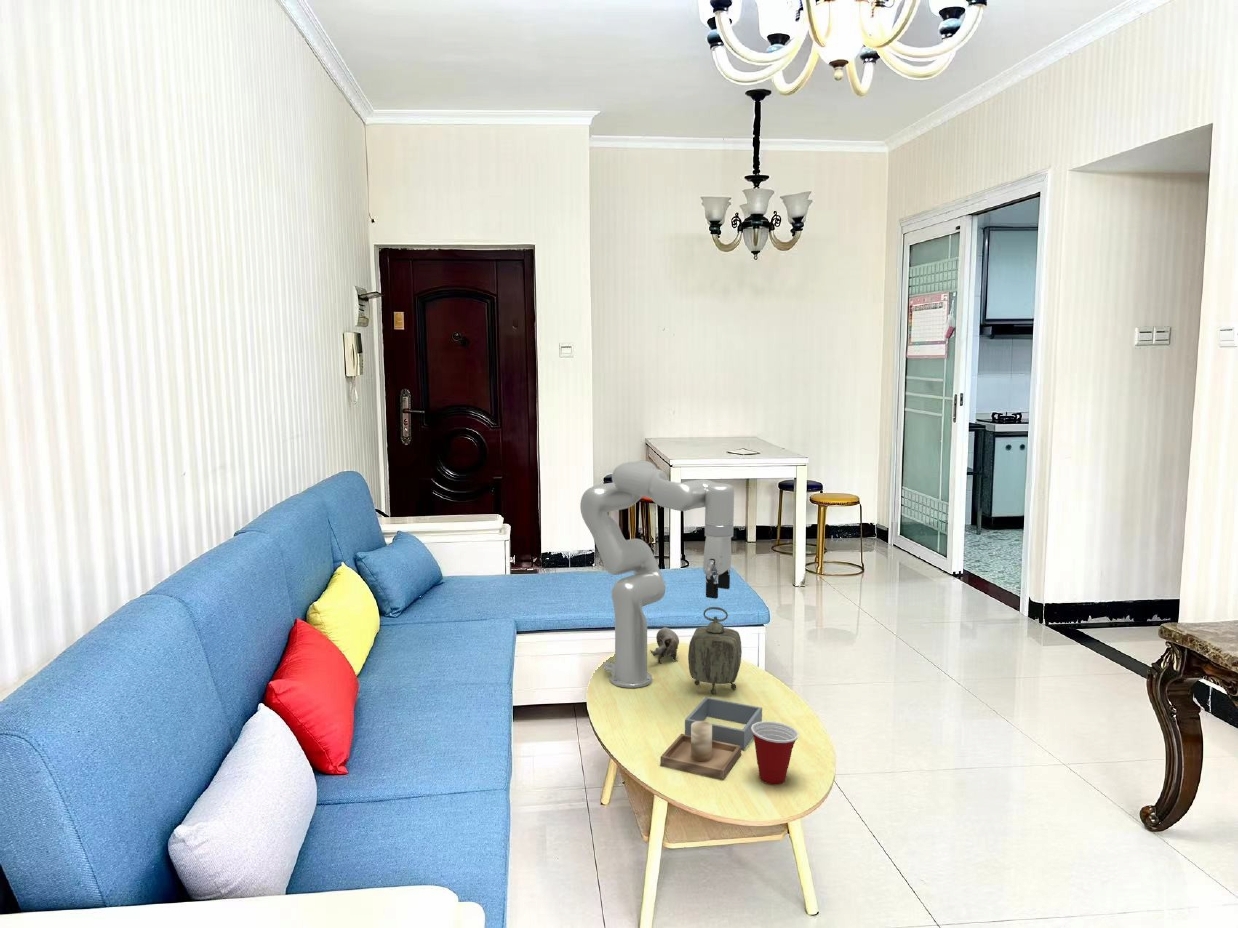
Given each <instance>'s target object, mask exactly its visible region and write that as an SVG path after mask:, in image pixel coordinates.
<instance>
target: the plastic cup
mask: <svg viewBox="0 0 1238 928" xmlns="http://www.w3.org/2000/svg"><path fill="white" fill-rule="evenodd" d="M751 730H752V732H753V741H754V749H755V756H756V762H757V768H758V774H759V778H760V781H762V782H763V783H765V784H768V785H773V786H775V785H781V784H783V783H785V782H786V779H787V774H788V769H789V766H790V762H791V757H792V751H793V748H794V745H795V742H796V741H797V739H798V738H799V735H800V733H799V732H798V730H797V729H795V728H794V727H793V726H790V725H788V724H785V723H783V722H779V721H778V722H777V721H772V720H769V721H768V720H762V722H757V723H755V724H753V725H752V727H751Z"/></svg>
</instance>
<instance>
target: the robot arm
mask: <svg viewBox="0 0 1238 928" xmlns="http://www.w3.org/2000/svg"><path fill="white" fill-rule="evenodd" d="M611 481H612V482H608V483H602V484H601V483H600V484H596V485H593V486H591V487H589V488H587V489H586V490H585V491H584V492H583V494H582V496H581V498H580V507H579V508H580V514H581V517H582V519H583V522H584V523H585V525H586V527H587V529H588V530H589V533H590V534H591V535H592V538H593V541H594V543H595V546H596V549H597V550H598V552H599V556H600V558H601V561H602V562H603V565H604V567H605V569H606V571H607V572H608V574H611V575H613V576H617V575H623V574H627V573H632V572H633V575H629V576H626V577H623V578H621V579H619V580H617V581H616V582H615V583H614V585H613V587H612V589H611V599H612V605H613V613H614V662H611V661H604V662H603V671H604V672H605V671H606V672H611V674H609V681H610V683H611V684H613V685H614V686H616V687H620V688H627V689H635V688H643V687H646V686H648V685H650V684H651V683H652V681H653V676H652V674H651V673H650V672H649V671H648V620H647V618H646V615H645V613H644V611H643V607H645V606H647V605H651V604H654V603H656V602H659V601H660V600H662V599H663V598H664V596H665V594H666V583H665V580H664V576H663V575H662V572H661V569H660V567H659V565H658V562H657V560H656V558H655V555H654V553H653V551H652V549H651V547H650V546H649V545H648V544H647V542H646V541H644V540H642V539H640V538H630V539H626V538H625V537H624V534H623V533H622V530H621V527H620V526H619V524H618V523H617V522H616V521H615V519H613V518H612V517H611V516H610V515H609V514H608V513H610V512H616V511H621V510H626V509H629V508H631V507H632V506H634V505H635V504H636V503H638V502H639V501H640V500H641V499H642V498H644V497H645V498H647V499H650V500H652V501H653V503H655V504H656V505H657V506H660V507H662V508H665V509H668V510H669V509H670V510H672V511H673V510H674V511H679V512H685V511H690V510H691V511H692V510H695V509H701V508H705V509H704V537H705V541H704V542H705V543H704V551H703V563H702V564H703V565H702V572H703V573H704V574H705V598H708V599H714V600H715V599H718V597H719V589H722V590H723V589H724V590H730V588H731V587H730V586H731V569H730V568H731V565H732V538H734V518H735V516H734V515H735V514H734V513H735V512H734V511H735V510H734V509H735V490H734V486H733V485H731V484H729V483H722V482H721V483H720V482H714V481H712V480H709V479H705V478H704V479H702V478H701V479H696V480H695V479H694V480H688V481H684V482H675V481H671V480H668V476H667V473H666V472H665V471H663V470H662V469H659V468H657V467H656V465H655V464H654V463H652V462H650V461H647V460H635V461H630V462H629V461H628V462H624V463H620V464H619V465H618V466H616V467H615V468H614V469H613V471H612V474H611Z"/></svg>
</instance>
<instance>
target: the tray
mask: <svg viewBox="0 0 1238 928" xmlns="http://www.w3.org/2000/svg"><path fill="white" fill-rule="evenodd" d="M741 756H742V750H741V746H739V745H734V744H729V743H724V742H719V741H714V740H712V759H711V760H710V761H707V762H697V761H694V760H693V759H692V758H691V736H690V735H686V734H685V733H680V734H679V735H678V737H677V738H675V740H674V741H673V742H672V743H671V744H670V746H669V747H668V748H667V749H666V750H665V751H664V752H663V754H661V756H660V757H659V758H660V762H659V763H660V765H659V766H660V767H662V768H668V769H672V770H676V771H682V772H685V773H690V774H695V775H699V776H704V777H709V778H711V779H716V780H719V781H724V780H725V779H726V777H727V775H728V774H729V773H730V771H731V770H732V769H733V767H734V766H735V764H736V762H738V760H739V758H741Z"/></svg>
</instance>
